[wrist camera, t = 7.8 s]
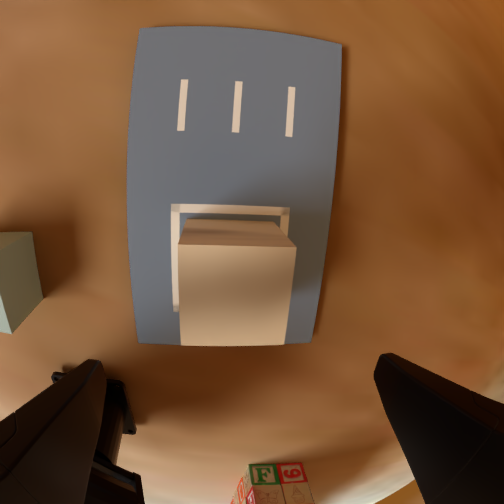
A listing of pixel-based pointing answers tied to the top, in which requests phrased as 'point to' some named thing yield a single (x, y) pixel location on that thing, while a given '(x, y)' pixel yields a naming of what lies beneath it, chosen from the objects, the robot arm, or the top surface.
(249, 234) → the maple block
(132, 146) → the blueprint board
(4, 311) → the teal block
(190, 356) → the top surface
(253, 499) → the stack of blocks
